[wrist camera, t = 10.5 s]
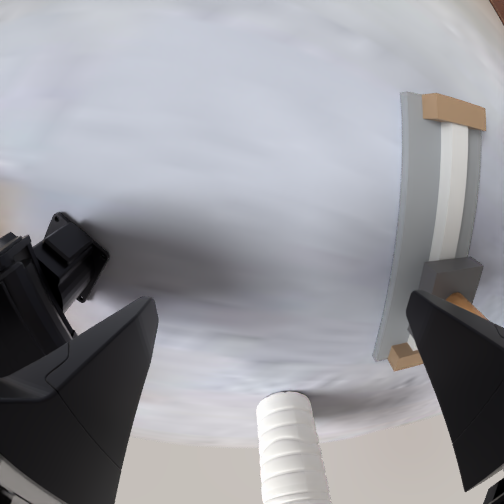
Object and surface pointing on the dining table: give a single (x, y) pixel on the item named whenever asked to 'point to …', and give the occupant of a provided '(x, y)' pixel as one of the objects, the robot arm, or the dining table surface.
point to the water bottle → (290, 451)
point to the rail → (430, 206)
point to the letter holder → (499, 8)
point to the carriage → (452, 281)
